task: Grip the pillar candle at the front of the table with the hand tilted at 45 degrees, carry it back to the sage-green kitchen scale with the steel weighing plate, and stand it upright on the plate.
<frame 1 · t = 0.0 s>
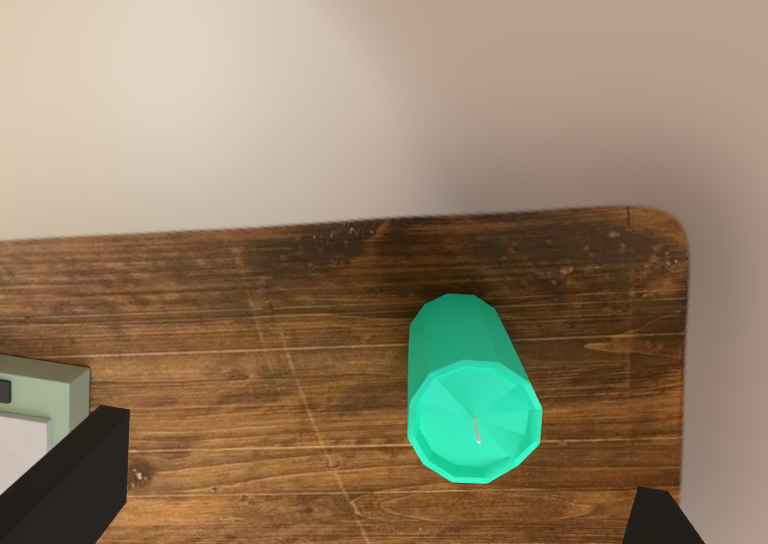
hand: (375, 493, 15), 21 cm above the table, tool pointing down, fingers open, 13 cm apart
candle: (456, 338, 36), on the table
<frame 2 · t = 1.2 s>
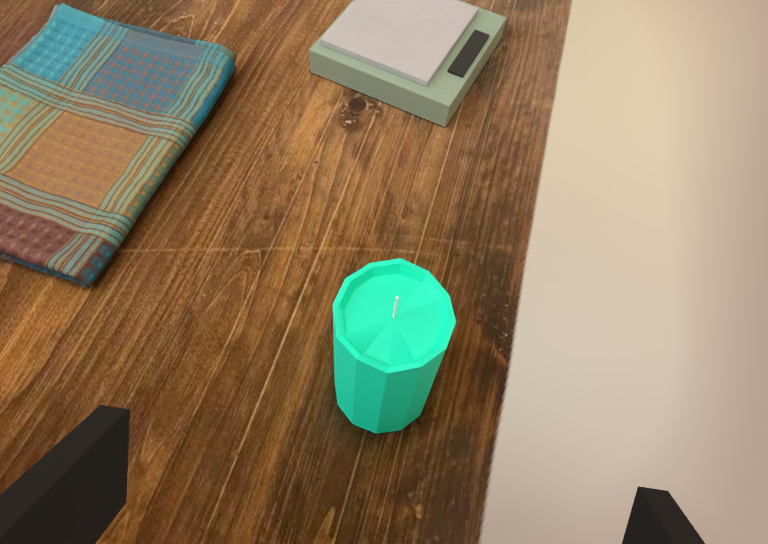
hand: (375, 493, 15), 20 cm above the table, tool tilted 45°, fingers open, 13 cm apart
dish towel: (82, 138, 46), on the table
scale: (408, 55, 53), on the table
candle: (381, 387, 38), on the table
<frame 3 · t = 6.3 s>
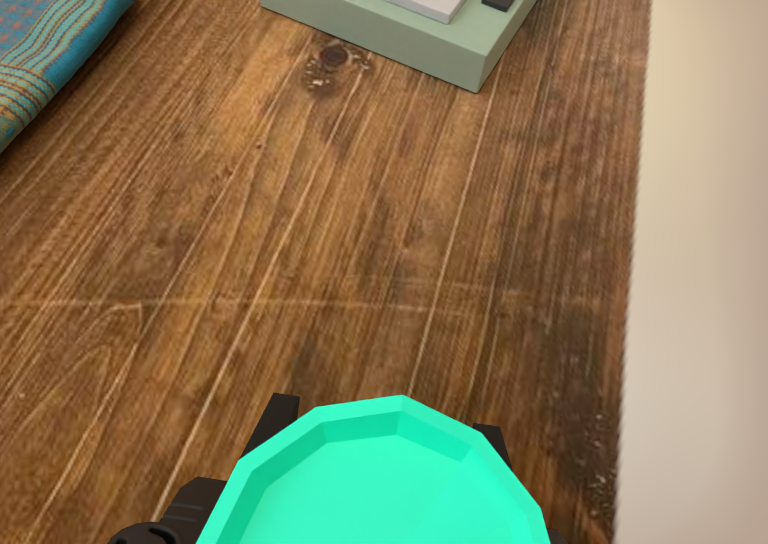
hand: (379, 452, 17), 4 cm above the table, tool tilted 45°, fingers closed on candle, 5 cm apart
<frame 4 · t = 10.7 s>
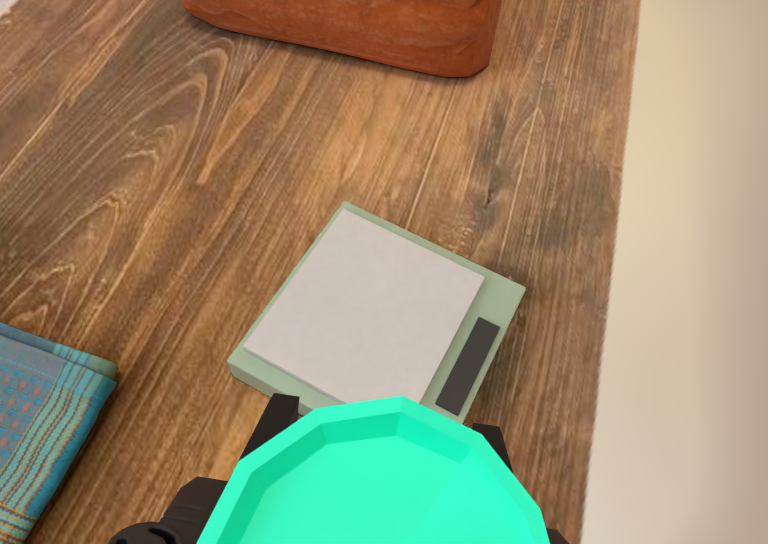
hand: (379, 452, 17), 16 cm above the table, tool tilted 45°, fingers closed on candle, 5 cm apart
bread: (347, 8, 53), on the table
scale: (381, 338, 37), on the table
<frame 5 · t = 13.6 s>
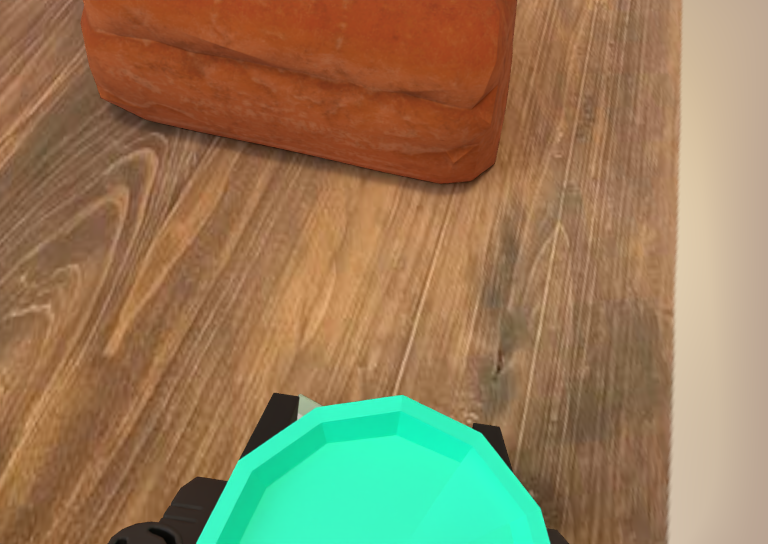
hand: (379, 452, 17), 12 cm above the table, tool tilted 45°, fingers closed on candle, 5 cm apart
bread: (315, 86, 42), on the table
when the fingers open (7 cm above the table, at t = 15.5 s): candle stays where it is, resting on scale.
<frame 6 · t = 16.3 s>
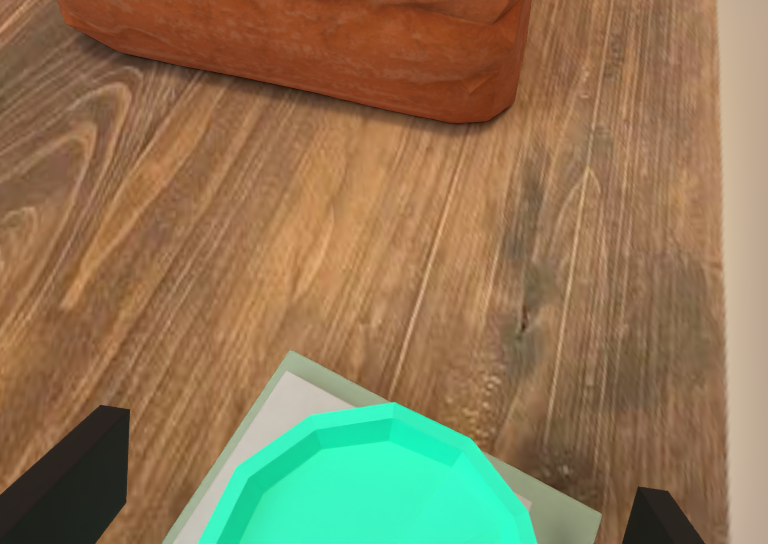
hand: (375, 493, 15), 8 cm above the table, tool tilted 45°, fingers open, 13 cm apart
bread: (311, 21, 37), on the table
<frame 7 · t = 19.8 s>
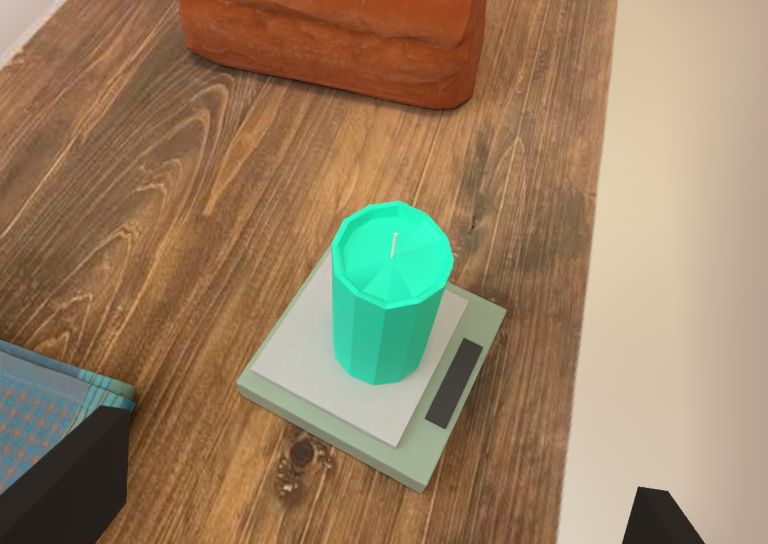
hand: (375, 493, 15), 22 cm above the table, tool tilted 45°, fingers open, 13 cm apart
bread: (339, 42, 56), on the table
scale: (376, 358, 40), on the table
candle: (379, 341, 38), point 3 cm above the table, touching scale
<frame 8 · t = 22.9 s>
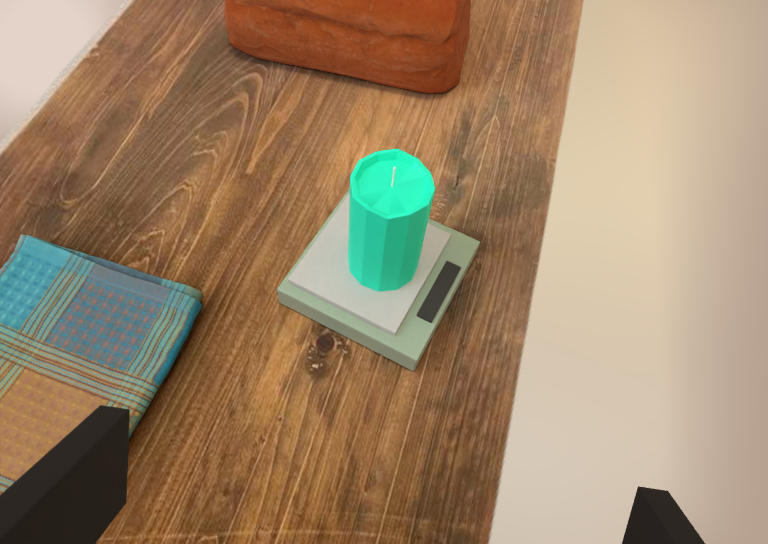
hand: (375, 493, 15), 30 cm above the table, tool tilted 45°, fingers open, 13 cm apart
bread: (351, 39, 69), on the table
dish towel: (42, 393, 46), on the table
scale: (380, 278, 53), on the table
candle: (382, 262, 50), point 3 cm above the table, touching scale
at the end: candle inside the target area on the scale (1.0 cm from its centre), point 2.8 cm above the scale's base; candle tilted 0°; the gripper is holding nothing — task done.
